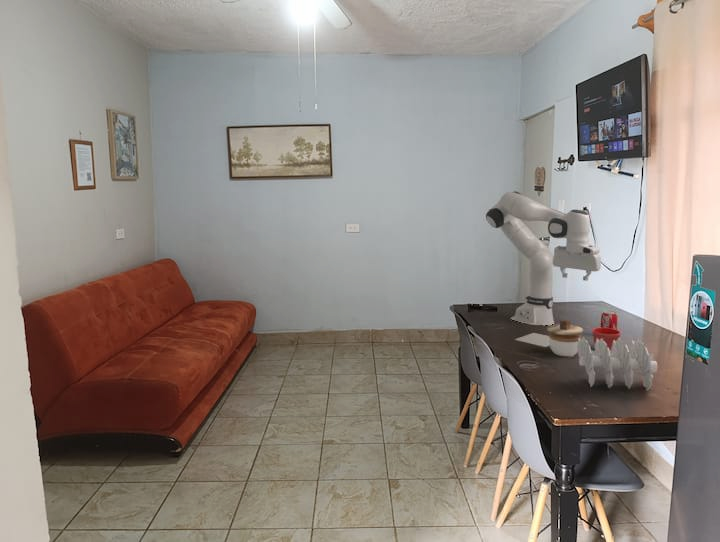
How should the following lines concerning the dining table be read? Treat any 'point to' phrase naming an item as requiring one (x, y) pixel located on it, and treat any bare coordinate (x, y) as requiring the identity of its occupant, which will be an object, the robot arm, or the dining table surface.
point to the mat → (535, 339)
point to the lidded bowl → (564, 344)
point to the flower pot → (606, 335)
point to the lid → (565, 328)
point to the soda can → (609, 320)
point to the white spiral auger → (617, 360)
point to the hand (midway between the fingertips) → (574, 278)
